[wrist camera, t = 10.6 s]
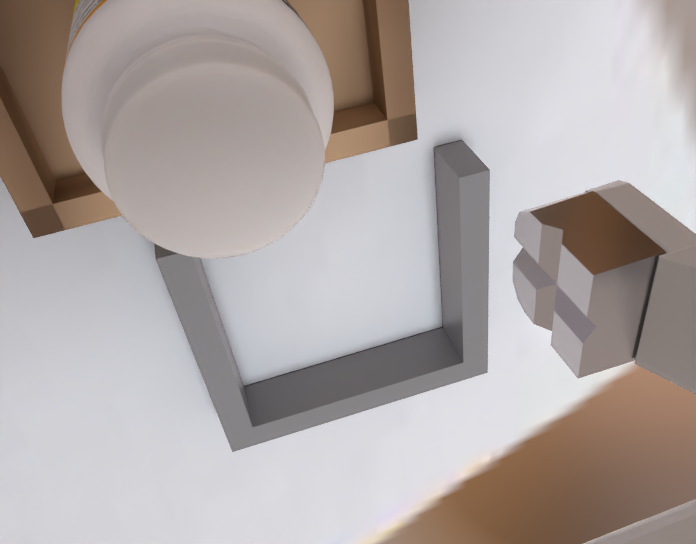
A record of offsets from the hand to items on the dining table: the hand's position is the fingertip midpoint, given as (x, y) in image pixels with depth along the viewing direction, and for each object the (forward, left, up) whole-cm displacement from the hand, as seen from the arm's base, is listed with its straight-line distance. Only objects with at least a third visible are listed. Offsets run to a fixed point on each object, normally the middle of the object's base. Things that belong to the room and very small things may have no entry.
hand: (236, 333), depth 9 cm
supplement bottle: (0, 0, -15) cm, 15 cm away
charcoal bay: (+4, -12, -15) cm, 20 cm away
